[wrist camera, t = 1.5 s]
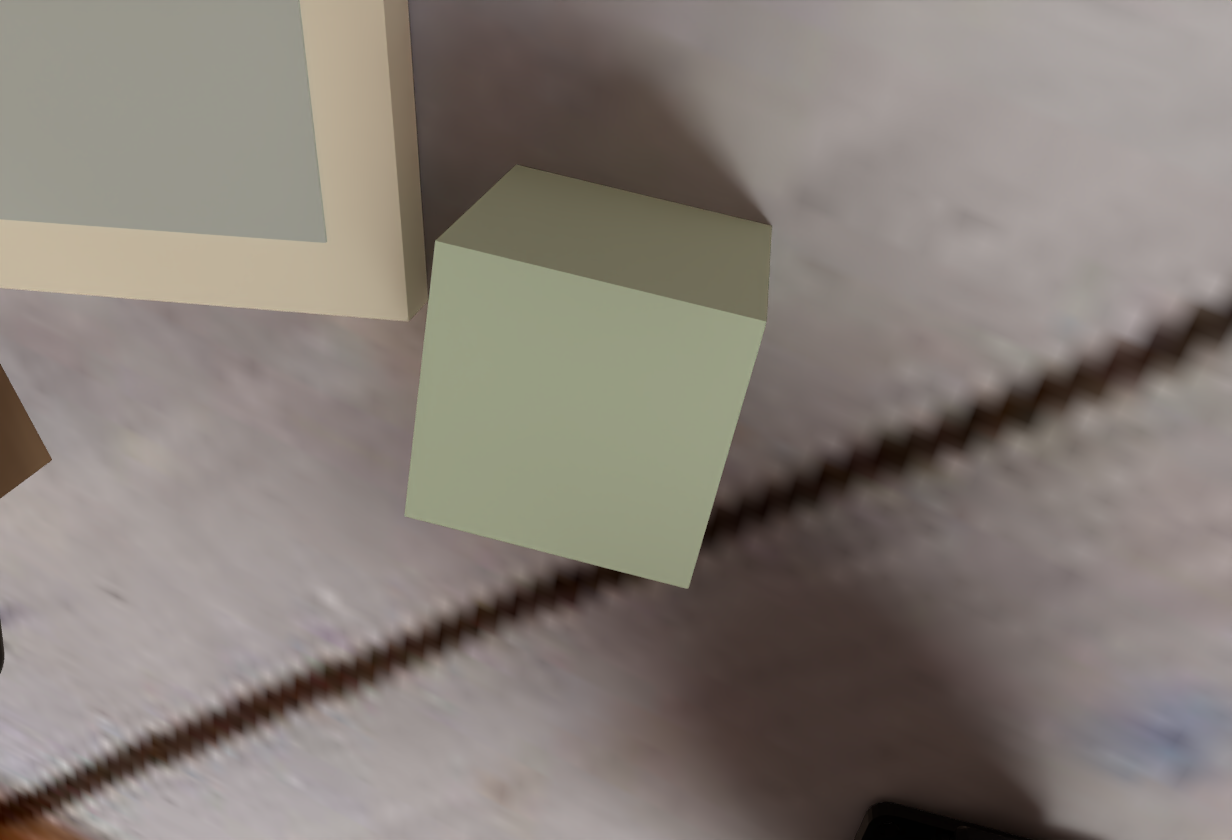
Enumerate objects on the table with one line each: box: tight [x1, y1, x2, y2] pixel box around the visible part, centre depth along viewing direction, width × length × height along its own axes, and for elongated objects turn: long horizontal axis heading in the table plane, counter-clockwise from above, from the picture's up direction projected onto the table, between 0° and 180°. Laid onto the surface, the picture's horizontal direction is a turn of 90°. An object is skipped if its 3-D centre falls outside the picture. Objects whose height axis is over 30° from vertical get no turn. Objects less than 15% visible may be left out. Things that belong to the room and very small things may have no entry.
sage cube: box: [404, 165, 772, 589], centre depth 18 cm, size 5×5×5 cm
